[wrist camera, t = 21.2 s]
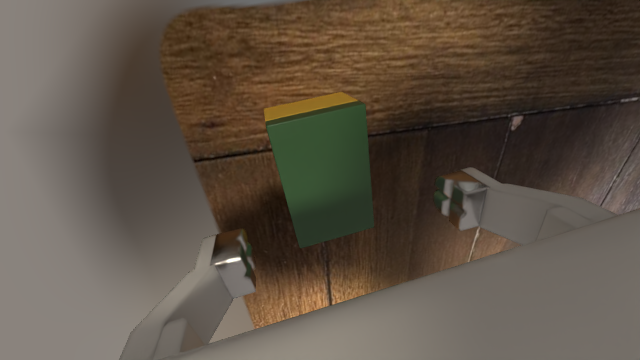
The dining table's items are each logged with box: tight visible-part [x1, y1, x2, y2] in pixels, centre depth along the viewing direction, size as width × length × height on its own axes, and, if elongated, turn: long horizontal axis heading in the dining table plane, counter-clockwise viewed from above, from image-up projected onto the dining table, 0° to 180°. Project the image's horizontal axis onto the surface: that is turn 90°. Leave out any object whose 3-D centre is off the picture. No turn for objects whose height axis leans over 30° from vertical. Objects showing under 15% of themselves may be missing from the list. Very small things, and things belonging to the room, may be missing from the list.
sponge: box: [264, 92, 374, 248], centre depth 16 cm, size 8×5×4 cm, turn 9°
